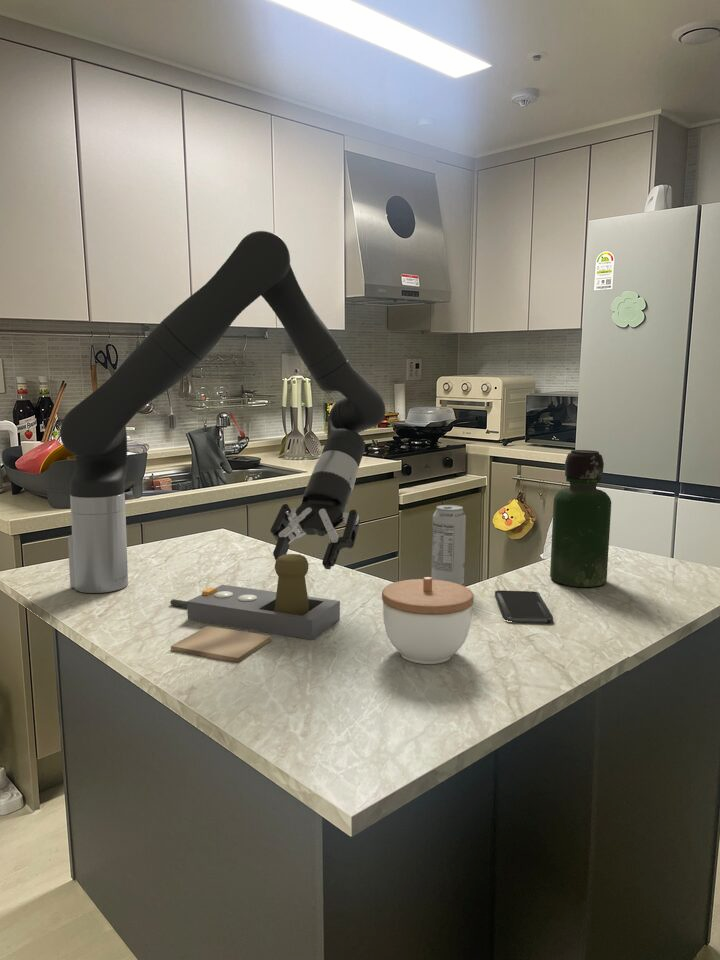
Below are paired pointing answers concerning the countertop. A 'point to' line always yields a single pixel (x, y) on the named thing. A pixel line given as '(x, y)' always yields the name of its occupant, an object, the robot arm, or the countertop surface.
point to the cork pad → (221, 643)
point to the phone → (523, 607)
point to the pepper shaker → (291, 584)
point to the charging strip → (259, 611)
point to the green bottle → (581, 524)
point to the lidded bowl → (427, 618)
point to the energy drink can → (448, 544)
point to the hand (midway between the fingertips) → (301, 563)
